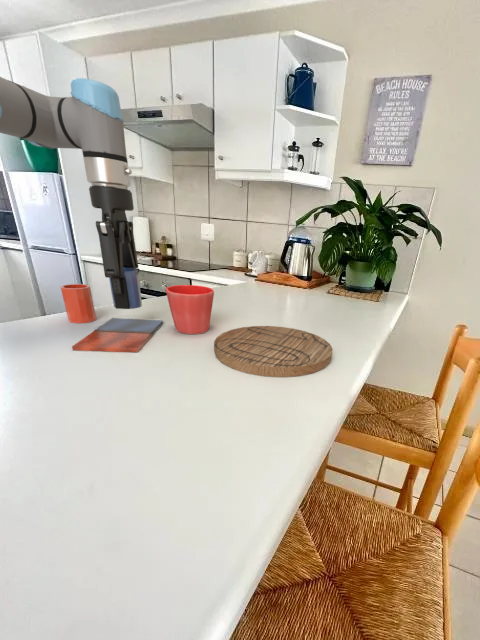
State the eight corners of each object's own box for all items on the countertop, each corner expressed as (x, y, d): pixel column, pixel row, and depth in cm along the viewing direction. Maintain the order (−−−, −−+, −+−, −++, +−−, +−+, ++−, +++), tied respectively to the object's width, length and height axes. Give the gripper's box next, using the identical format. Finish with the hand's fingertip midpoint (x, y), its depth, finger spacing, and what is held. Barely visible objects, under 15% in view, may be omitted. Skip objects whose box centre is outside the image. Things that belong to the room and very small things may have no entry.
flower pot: (224, 328, 81) (223, 289, 77) (193, 340, 72) (191, 296, 68) (191, 320, 85) (189, 282, 81) (159, 330, 76) (154, 288, 72)
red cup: (63, 322, 76) (55, 288, 72) (75, 315, 81) (68, 283, 78) (89, 323, 77) (82, 289, 73) (100, 317, 82) (94, 284, 78)
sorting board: (72, 350, 62) (71, 345, 62) (112, 321, 80) (112, 317, 79) (137, 352, 63) (137, 348, 63) (162, 323, 81) (162, 319, 81)
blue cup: (109, 308, 71) (102, 270, 67) (119, 302, 76) (113, 266, 72) (137, 309, 71) (132, 272, 68) (145, 303, 77) (140, 268, 73)
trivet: (247, 327, 83) (247, 320, 83) (342, 345, 76) (343, 337, 76) (189, 359, 62) (188, 350, 61) (312, 388, 55) (314, 378, 54)
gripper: (111, 184, 55) (131, 316, 66) (144, 192, 72) (156, 296, 82) (64, 179, 54) (92, 315, 65) (109, 189, 71) (125, 295, 81)
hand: (128, 304), depth 73 cm, fingers closed on blue cup, 6 cm apart
